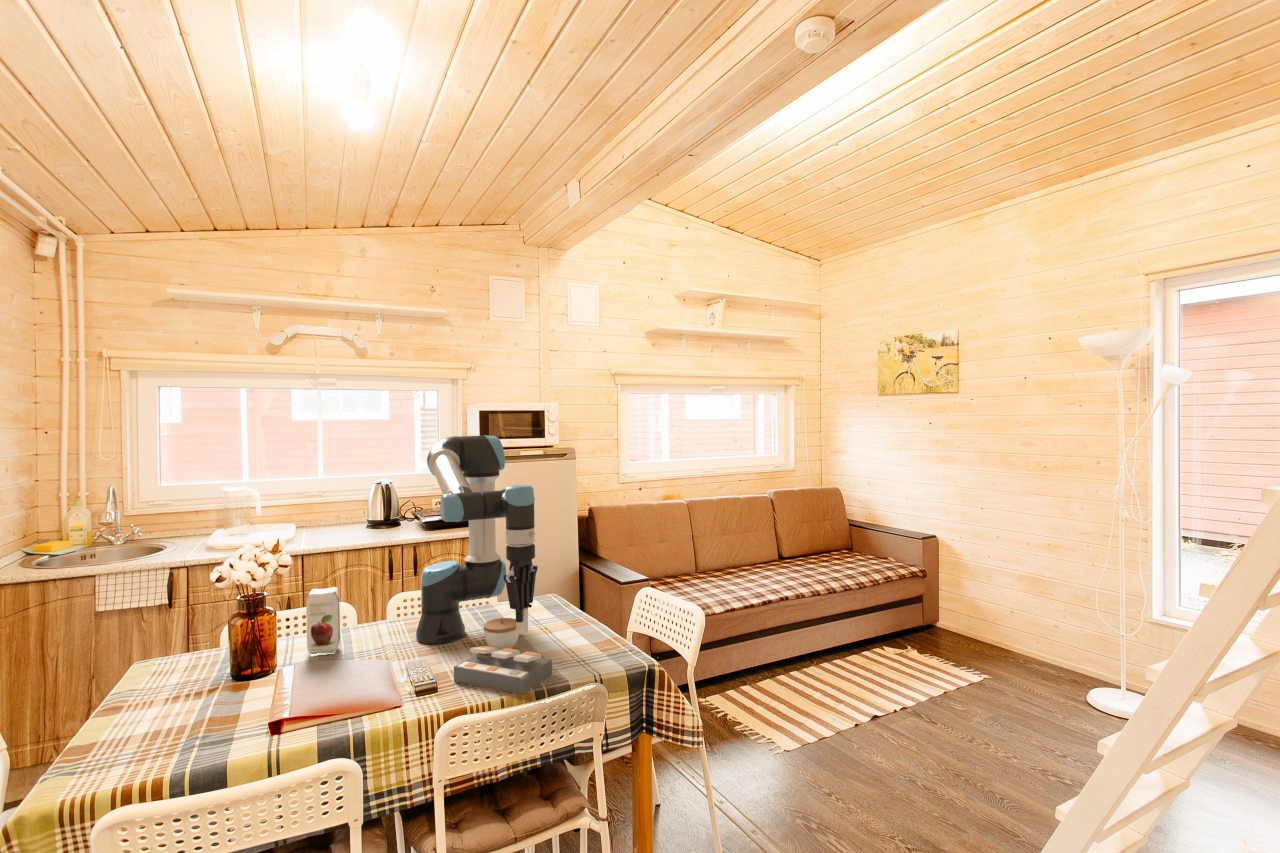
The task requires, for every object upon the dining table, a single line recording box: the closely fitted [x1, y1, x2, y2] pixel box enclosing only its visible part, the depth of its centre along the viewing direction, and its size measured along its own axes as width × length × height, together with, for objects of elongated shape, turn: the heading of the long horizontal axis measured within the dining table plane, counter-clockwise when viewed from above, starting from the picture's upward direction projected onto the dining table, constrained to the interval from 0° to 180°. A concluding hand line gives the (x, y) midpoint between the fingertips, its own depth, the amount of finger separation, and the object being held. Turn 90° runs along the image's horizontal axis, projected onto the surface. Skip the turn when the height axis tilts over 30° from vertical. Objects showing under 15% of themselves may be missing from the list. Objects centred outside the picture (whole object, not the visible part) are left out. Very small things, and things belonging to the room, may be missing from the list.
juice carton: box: [305, 586, 341, 654], centre depth 191 cm, size 8×9×19 cm
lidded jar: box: [483, 617, 520, 651], centre depth 193 cm, size 11×11×9 cm
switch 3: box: [513, 651, 542, 663], centre depth 169 cm, size 4×7×1 cm, turn 158°
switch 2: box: [491, 648, 520, 659], centre depth 172 cm, size 4×7×1 cm, turn 158°
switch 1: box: [469, 645, 498, 654], centre depth 175 cm, size 4×7×1 cm, turn 158°
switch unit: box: [453, 653, 553, 695], centre depth 171 cm, size 22×14×5 cm, turn 68°
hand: (522, 632), depth 167 cm, fingers closed
